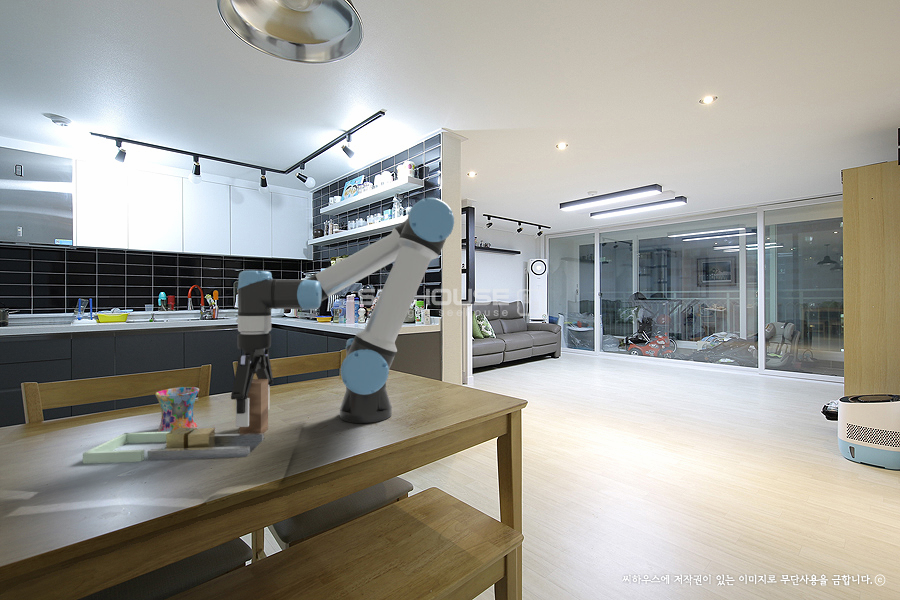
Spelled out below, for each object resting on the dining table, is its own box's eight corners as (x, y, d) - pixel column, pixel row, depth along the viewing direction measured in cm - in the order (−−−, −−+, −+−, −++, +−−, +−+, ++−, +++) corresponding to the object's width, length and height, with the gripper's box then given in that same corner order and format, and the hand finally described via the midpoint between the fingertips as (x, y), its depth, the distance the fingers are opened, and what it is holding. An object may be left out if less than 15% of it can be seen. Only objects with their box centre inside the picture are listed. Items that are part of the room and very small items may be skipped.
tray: (175, 444, 93) (175, 431, 93) (140, 465, 81) (141, 451, 81) (125, 445, 91) (125, 432, 91) (82, 468, 79) (82, 453, 79)
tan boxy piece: (214, 444, 90) (214, 427, 90) (208, 451, 86) (208, 433, 86) (195, 446, 89) (195, 428, 89) (188, 453, 85) (188, 434, 85)
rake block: (268, 433, 101) (268, 378, 100) (260, 440, 96) (260, 383, 95) (247, 433, 100) (247, 379, 100) (239, 440, 95) (239, 383, 95)
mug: (191, 436, 98) (191, 394, 97) (148, 440, 95) (148, 396, 95) (207, 421, 109) (207, 383, 109) (168, 424, 107) (168, 385, 106)
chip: (196, 445, 89) (196, 428, 89) (183, 452, 85) (183, 434, 85) (180, 444, 89) (180, 427, 89) (166, 451, 86) (166, 433, 85)
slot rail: (264, 442, 94) (264, 431, 94) (246, 461, 83) (246, 449, 83) (176, 444, 92) (176, 434, 92) (145, 464, 81) (145, 452, 81)
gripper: (257, 328, 110) (257, 404, 110) (214, 337, 85) (213, 435, 85) (285, 328, 110) (284, 403, 110) (250, 337, 86) (249, 434, 86)
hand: (253, 417), depth 98 cm, fingers open, 13 cm apart
